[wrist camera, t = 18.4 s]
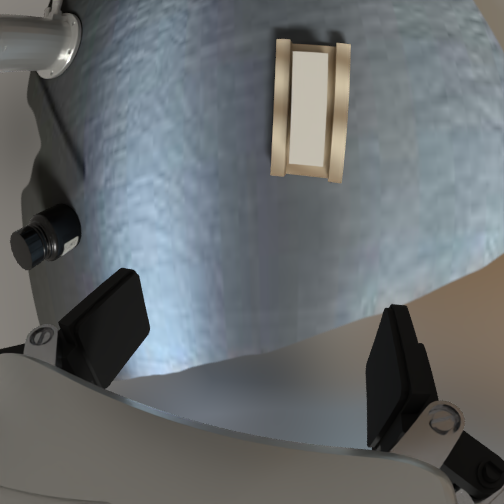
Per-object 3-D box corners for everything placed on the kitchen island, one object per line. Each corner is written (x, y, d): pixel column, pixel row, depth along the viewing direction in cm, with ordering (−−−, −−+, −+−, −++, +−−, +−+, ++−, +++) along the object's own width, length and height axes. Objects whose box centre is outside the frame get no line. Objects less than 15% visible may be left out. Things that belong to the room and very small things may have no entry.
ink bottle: (57, 246, 51) (16, 273, 40) (47, 204, 47) (1, 226, 37) (88, 247, 48) (43, 278, 38) (77, 201, 45) (27, 225, 34)
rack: (280, 44, 29) (276, 39, 26) (348, 50, 27) (350, 44, 25) (274, 171, 36) (270, 175, 33) (340, 178, 34) (341, 183, 31)
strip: (297, 59, 28) (292, 51, 24) (327, 62, 28) (328, 53, 24) (293, 158, 34) (288, 163, 30) (323, 161, 33) (322, 166, 29)
